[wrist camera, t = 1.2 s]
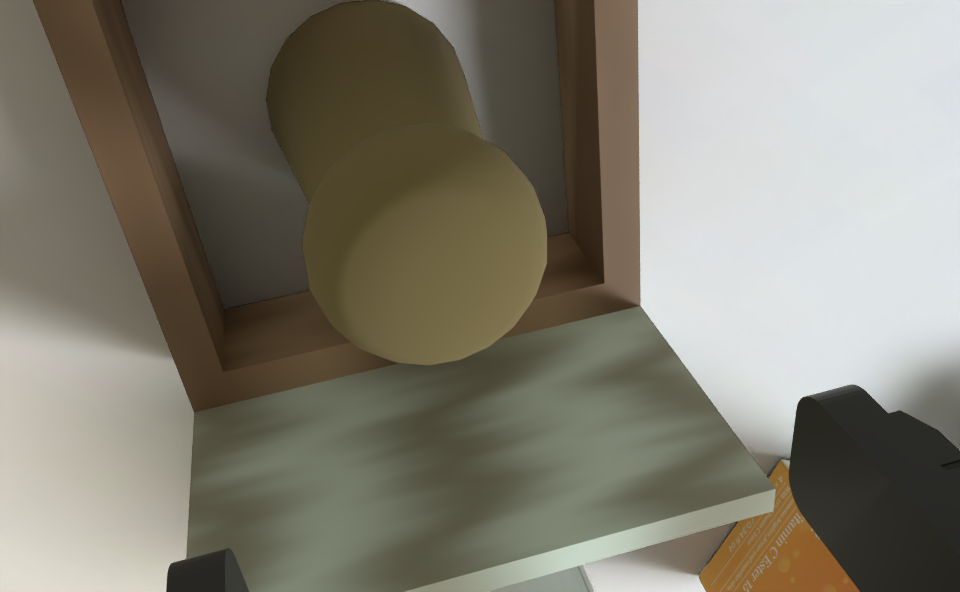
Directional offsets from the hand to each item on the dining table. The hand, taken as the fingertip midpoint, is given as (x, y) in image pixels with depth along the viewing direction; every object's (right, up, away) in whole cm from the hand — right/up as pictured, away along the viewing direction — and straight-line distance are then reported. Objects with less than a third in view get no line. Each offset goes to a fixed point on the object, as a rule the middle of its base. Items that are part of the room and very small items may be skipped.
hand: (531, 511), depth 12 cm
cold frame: (-4, +9, +14) cm, 17 cm away
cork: (-4, +9, +14) cm, 17 cm away
